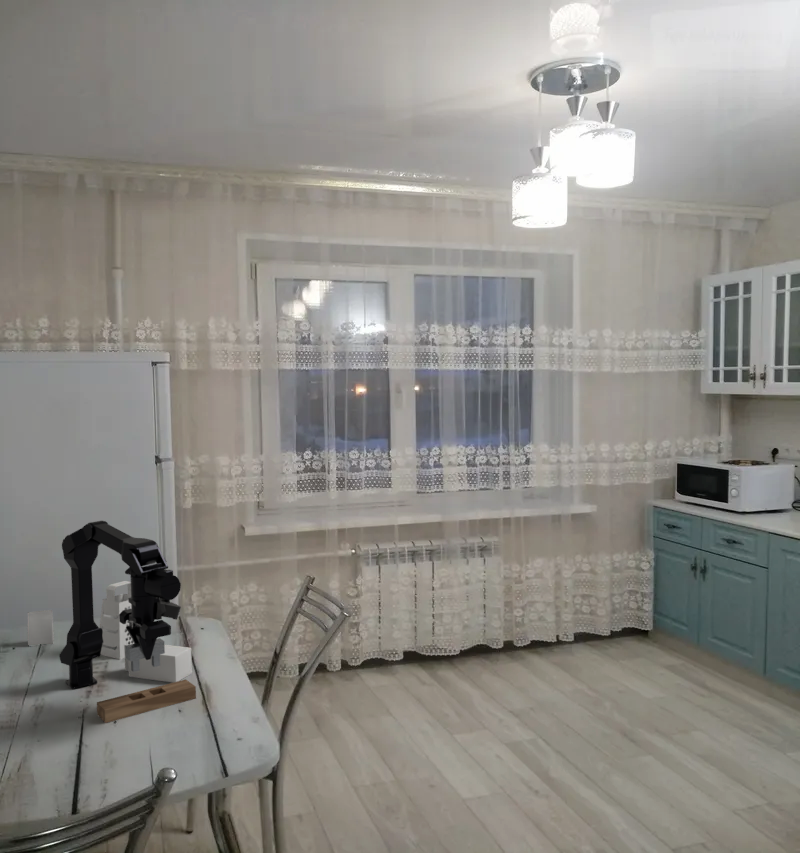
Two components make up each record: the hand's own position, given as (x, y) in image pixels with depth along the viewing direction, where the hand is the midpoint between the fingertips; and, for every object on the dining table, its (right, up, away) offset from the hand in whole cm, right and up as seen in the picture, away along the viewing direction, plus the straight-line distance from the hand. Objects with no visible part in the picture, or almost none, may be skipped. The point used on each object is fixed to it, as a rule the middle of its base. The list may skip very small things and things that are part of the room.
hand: (145, 657), depth 188 cm
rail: (0, -12, +1) cm, 12 cm away
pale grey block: (-47, -10, +48) cm, 68 cm away
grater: (-20, -10, +41) cm, 47 cm away
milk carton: (+4, -7, +18) cm, 20 cm away
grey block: (0, -3, 0) cm, 3 cm away
